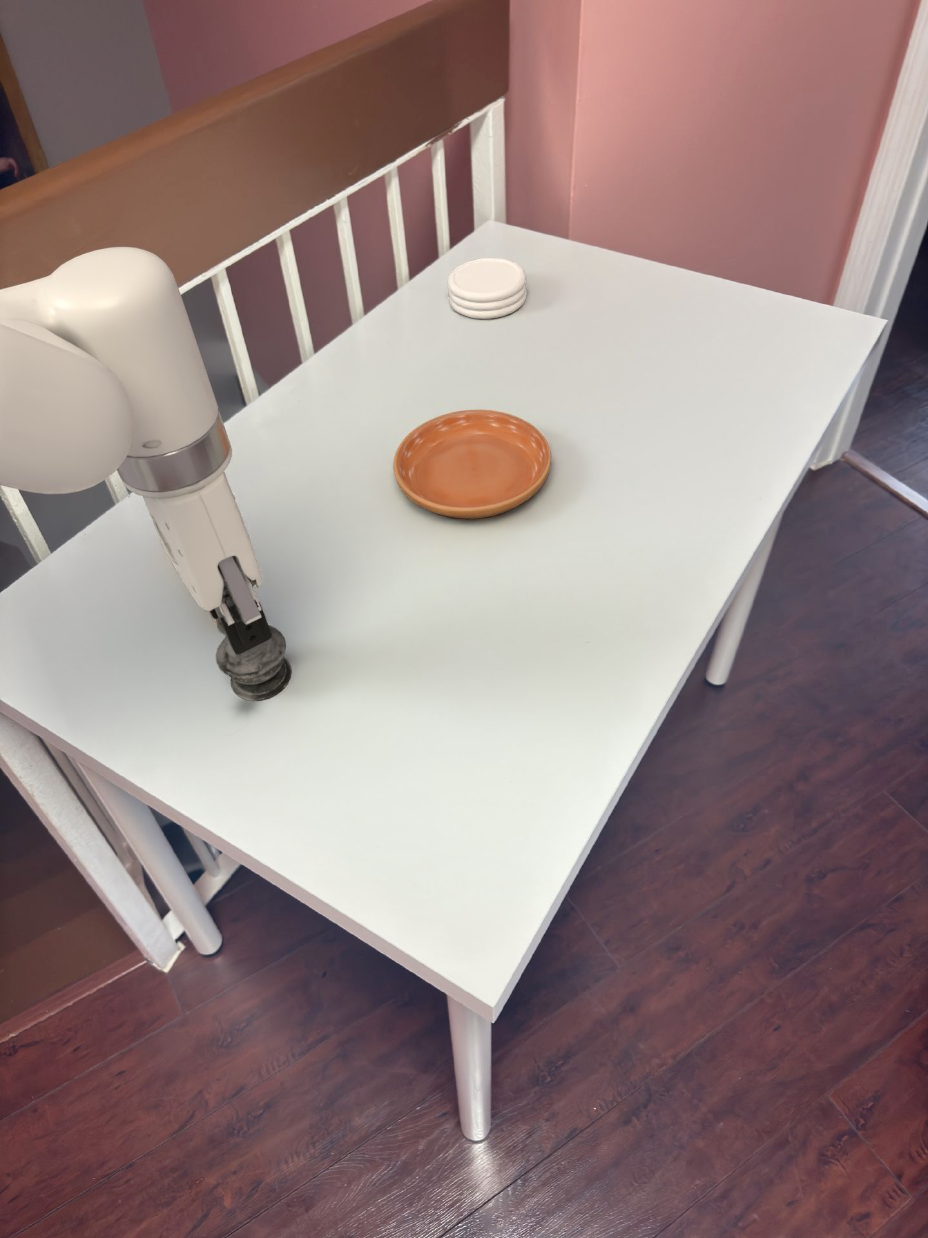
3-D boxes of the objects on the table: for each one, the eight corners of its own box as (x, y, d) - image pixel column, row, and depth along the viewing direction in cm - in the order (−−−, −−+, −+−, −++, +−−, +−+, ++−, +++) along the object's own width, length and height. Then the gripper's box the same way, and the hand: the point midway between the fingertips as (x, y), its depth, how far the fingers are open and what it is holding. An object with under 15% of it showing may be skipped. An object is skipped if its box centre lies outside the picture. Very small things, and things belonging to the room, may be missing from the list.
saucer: (575, 505, 90) (575, 482, 88) (420, 548, 88) (417, 525, 85) (519, 417, 101) (518, 394, 98) (380, 453, 98) (376, 430, 96)
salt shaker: (260, 715, 76) (220, 619, 67) (213, 684, 78) (168, 587, 70) (309, 669, 79) (277, 571, 70) (261, 640, 81) (225, 542, 72)
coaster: (441, 318, 116) (438, 293, 113) (459, 279, 122) (456, 254, 119) (519, 322, 114) (518, 296, 111) (532, 282, 120) (532, 256, 117)
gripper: (79, 407, 64) (163, 587, 78) (158, 537, 54) (239, 717, 68) (179, 369, 66) (244, 550, 80) (273, 486, 56) (329, 671, 70)
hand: (241, 625), depth 74 cm, fingers open, 3 cm apart
